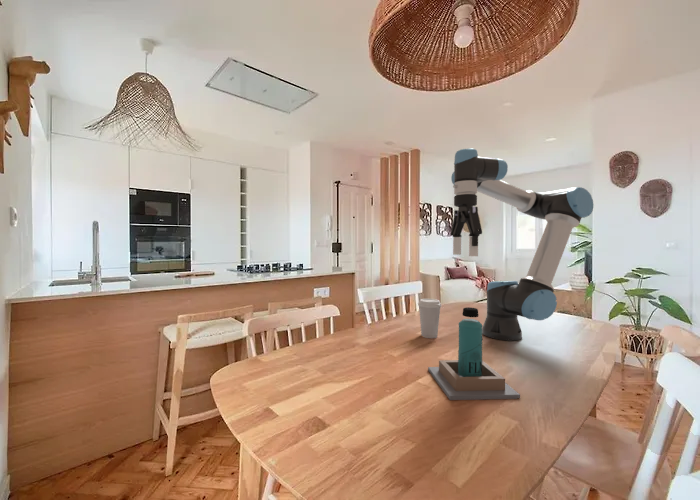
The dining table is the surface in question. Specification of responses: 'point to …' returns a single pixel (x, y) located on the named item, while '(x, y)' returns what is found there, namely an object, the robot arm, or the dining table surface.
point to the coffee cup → (429, 317)
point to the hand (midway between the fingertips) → (464, 255)
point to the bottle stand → (471, 383)
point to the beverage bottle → (470, 345)
